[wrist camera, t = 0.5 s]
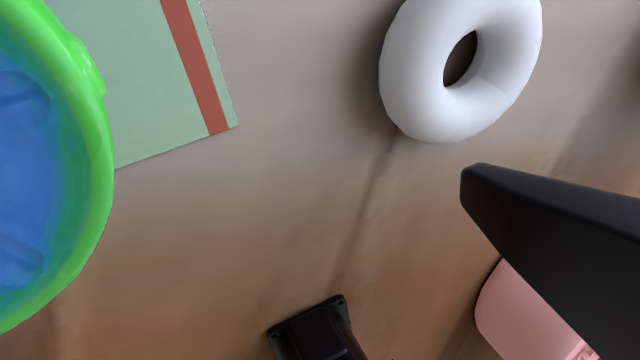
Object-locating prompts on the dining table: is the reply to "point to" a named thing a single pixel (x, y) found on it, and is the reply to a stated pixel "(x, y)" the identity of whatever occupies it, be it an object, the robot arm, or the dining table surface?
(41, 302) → the snack cup
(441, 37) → the donut
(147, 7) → the green flat piece
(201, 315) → the dining table surface
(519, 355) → the cake
